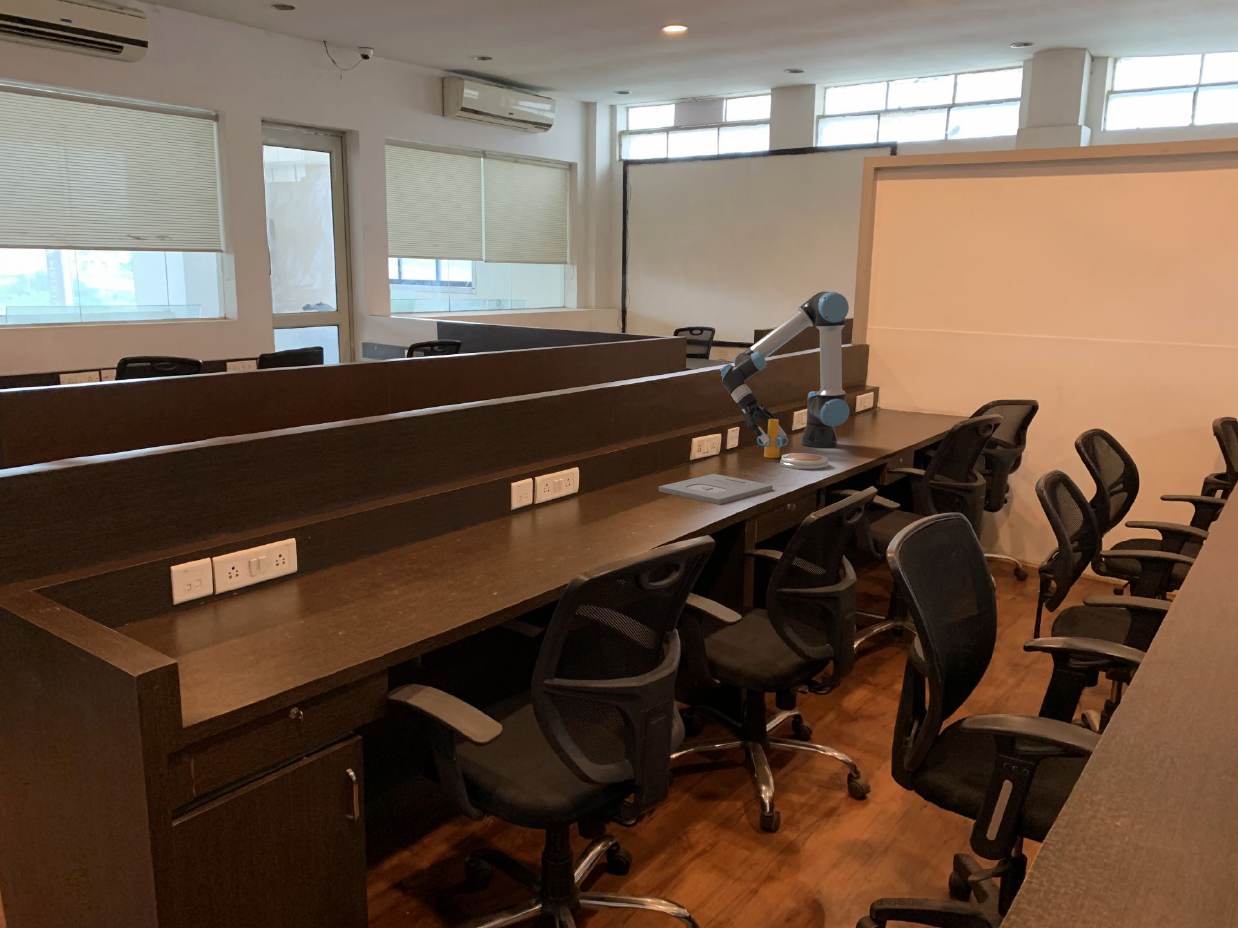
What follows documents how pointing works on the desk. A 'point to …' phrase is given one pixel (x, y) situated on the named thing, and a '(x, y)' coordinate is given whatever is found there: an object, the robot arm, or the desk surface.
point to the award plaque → (715, 488)
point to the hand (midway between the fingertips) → (775, 439)
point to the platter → (804, 459)
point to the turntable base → (803, 466)
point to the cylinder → (773, 440)
